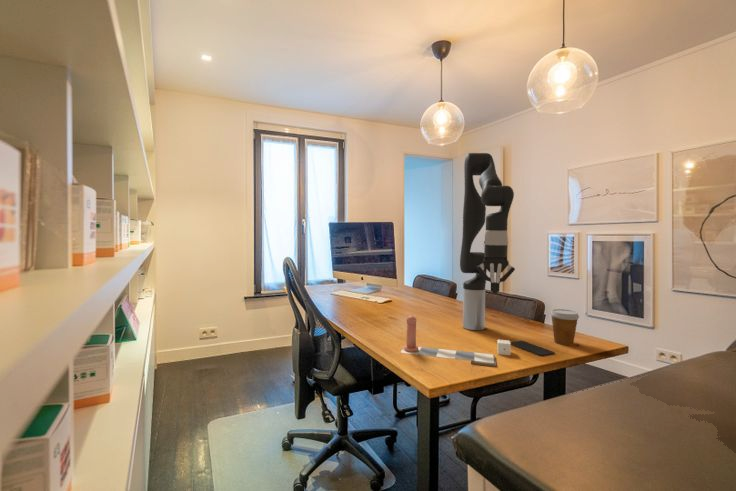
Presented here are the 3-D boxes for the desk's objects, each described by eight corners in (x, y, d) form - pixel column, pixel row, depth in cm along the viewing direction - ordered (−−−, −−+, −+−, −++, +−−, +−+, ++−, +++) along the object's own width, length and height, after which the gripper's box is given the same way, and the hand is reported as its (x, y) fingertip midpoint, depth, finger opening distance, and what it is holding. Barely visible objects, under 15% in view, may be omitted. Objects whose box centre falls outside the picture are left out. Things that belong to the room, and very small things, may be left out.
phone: (521, 340, 134) (556, 352, 120) (521, 342, 134) (556, 354, 120) (507, 342, 131) (540, 355, 117) (507, 344, 131) (540, 357, 117)
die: (497, 350, 123) (497, 339, 123) (509, 351, 122) (509, 340, 122) (497, 354, 119) (498, 342, 119) (510, 355, 118) (510, 343, 118)
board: (403, 347, 126) (403, 344, 126) (494, 357, 116) (494, 354, 116) (398, 355, 117) (398, 353, 117) (496, 366, 108) (496, 363, 108)
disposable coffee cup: (580, 342, 132) (581, 311, 132) (574, 348, 125) (575, 315, 125) (553, 337, 139) (554, 307, 138) (546, 342, 132) (547, 311, 131)
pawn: (405, 346, 123) (406, 313, 123) (419, 348, 122) (419, 314, 121) (403, 351, 119) (403, 316, 118) (416, 352, 117) (417, 318, 117)
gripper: (515, 243, 122) (514, 292, 122) (476, 242, 126) (475, 290, 126) (517, 244, 114) (516, 296, 115) (476, 243, 118) (474, 294, 119)
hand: (494, 293), depth 121 cm, fingers closed
